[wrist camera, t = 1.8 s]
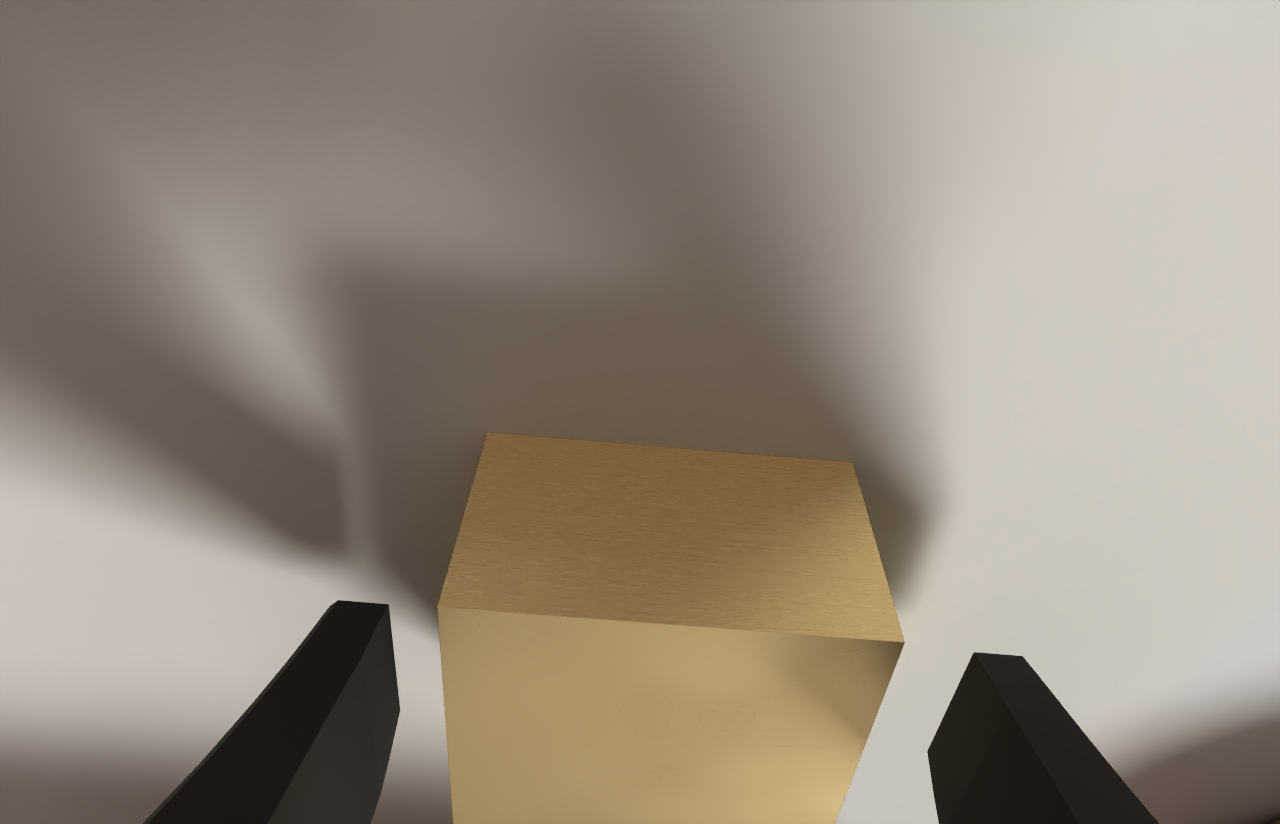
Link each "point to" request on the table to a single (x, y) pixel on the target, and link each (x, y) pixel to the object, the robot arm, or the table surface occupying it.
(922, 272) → the table surface
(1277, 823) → the bread roll
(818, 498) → the brass cube
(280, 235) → the table surface
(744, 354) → the table surface
